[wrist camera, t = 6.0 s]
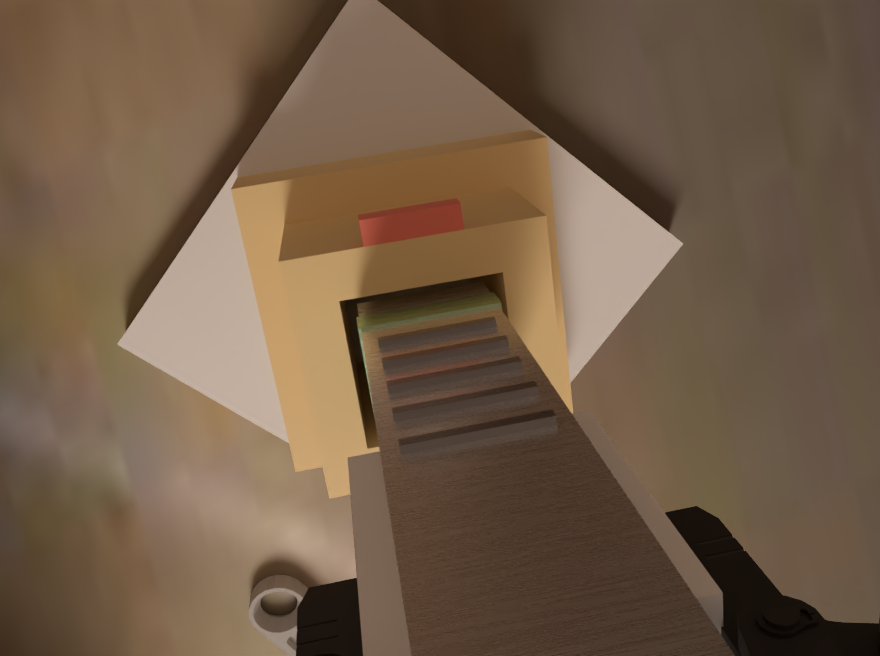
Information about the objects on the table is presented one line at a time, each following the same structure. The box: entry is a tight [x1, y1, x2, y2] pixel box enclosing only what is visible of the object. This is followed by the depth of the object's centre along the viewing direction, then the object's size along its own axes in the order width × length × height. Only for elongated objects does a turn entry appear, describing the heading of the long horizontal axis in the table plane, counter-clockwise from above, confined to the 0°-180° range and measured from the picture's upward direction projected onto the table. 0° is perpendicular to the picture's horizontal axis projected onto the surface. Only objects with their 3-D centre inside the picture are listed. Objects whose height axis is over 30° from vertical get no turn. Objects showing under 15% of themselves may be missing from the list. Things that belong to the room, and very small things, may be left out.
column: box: [356, 281, 735, 656], centre depth 19 cm, size 4×4×18 cm
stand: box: [117, 0, 683, 499], centre depth 30 cm, size 23×23×9 cm
